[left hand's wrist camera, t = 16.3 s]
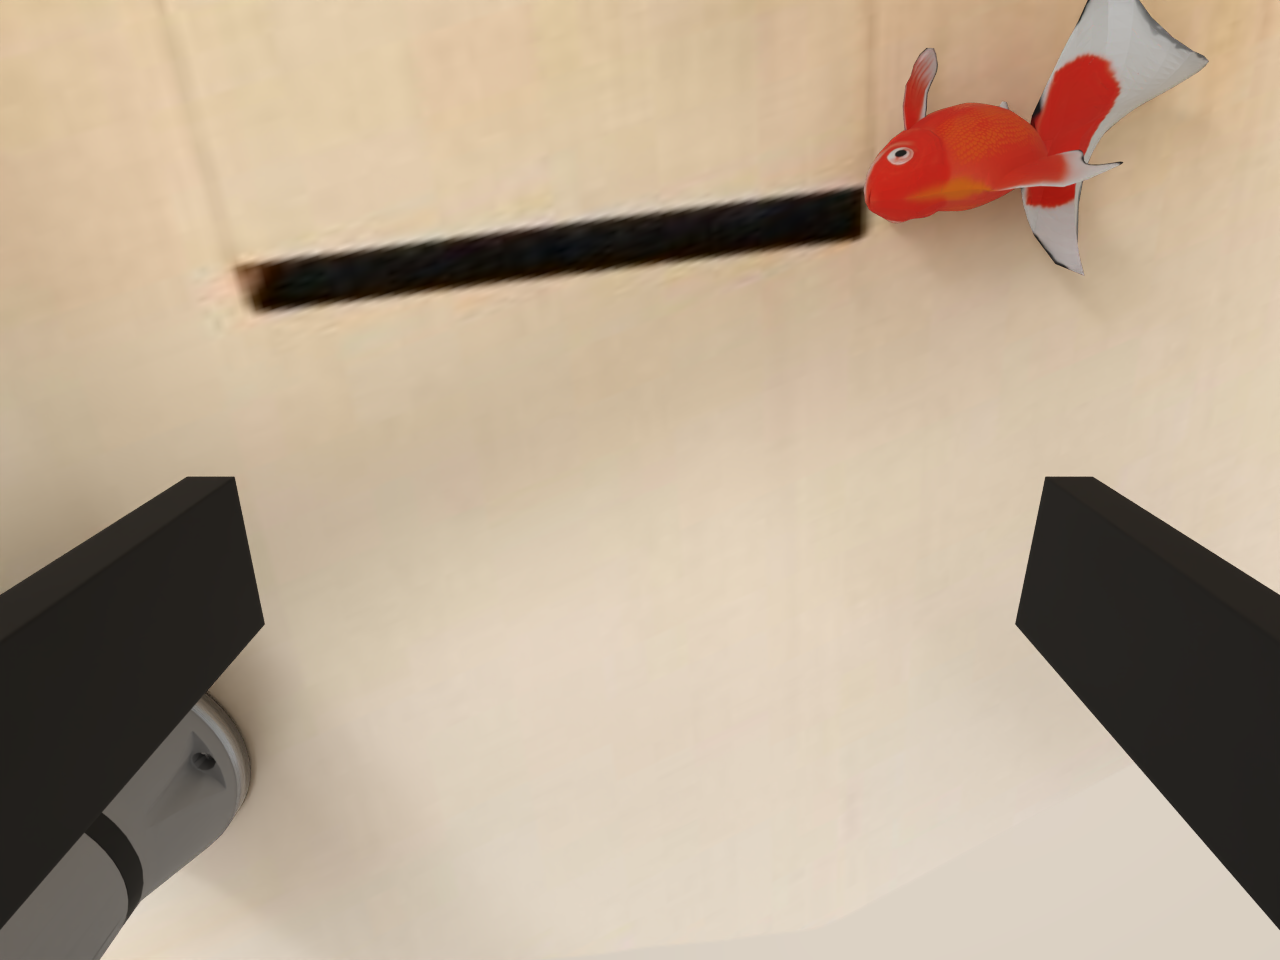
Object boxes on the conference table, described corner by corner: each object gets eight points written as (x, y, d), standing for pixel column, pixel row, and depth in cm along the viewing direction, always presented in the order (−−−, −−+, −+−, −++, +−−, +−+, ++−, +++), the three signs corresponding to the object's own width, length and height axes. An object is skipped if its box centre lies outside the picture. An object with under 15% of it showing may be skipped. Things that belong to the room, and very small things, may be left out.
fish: (854, -58, 30) (1053, -12, 23) (1118, -30, 36) (1337, 13, 29) (789, 214, 36) (929, 311, 30) (1020, 199, 42) (1179, 277, 36)
